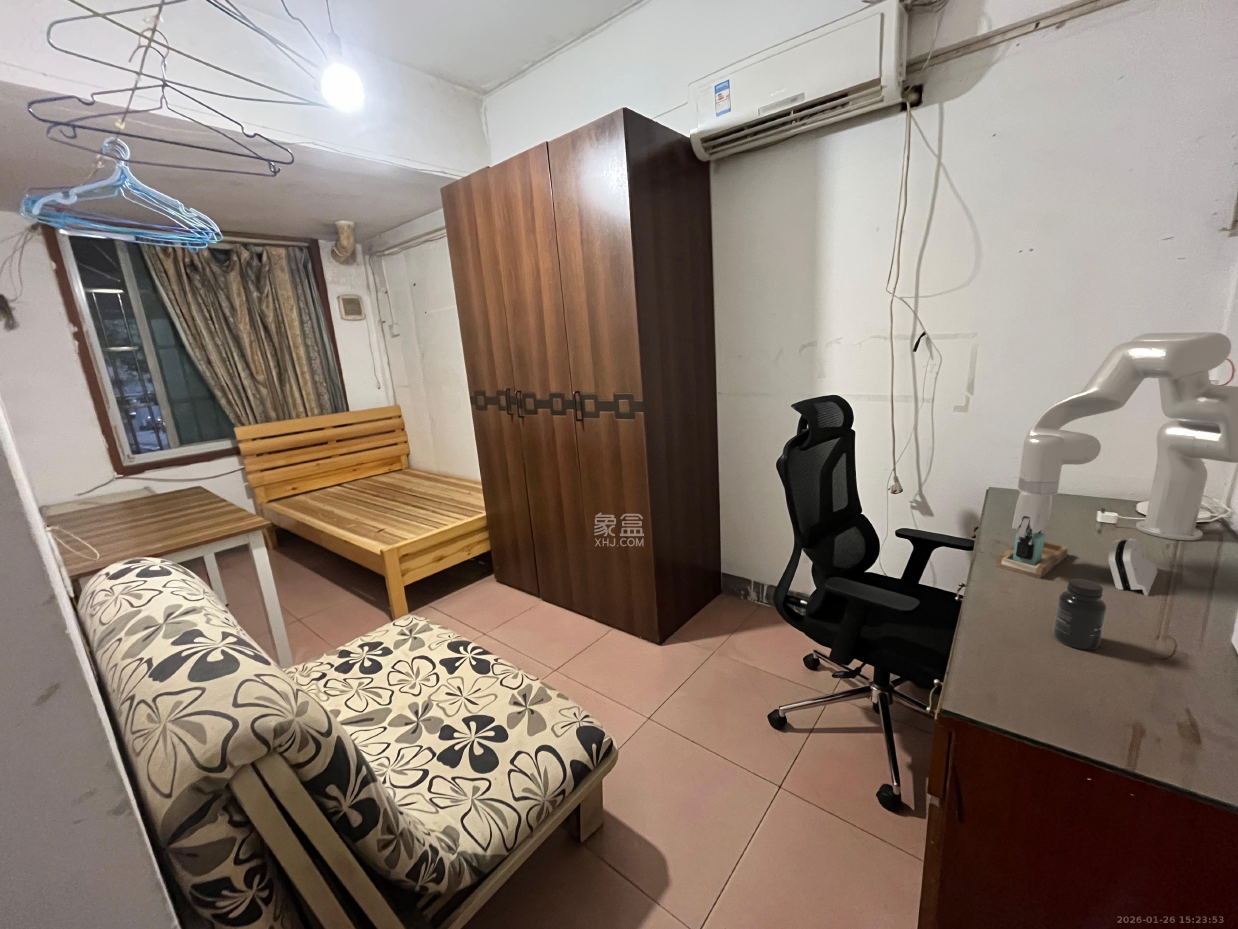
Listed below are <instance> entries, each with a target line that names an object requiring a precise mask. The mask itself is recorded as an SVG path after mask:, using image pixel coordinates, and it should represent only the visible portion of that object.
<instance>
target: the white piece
mask: <svg viewBox="0 0 1238 929" xmlns="http://www.w3.org/2000/svg"><path fill="white" fill-rule="evenodd" d="M1107 560H1108V564H1109V568H1110V571H1111V575H1112V579H1113V582H1114V585H1115V589H1116V588H1118V589H1117V590H1124V589H1126V588H1128V589H1130V590H1132V591H1135V590H1137V591H1138V590H1142V593H1143V595H1144V596H1145V595H1146V597H1147V596H1149V594H1150V591H1151V588H1152V587H1151V586H1153V584H1154V582H1155V579H1156V576H1157V574H1158V570H1157V569H1158V568H1157V566H1156V564H1155V563H1152V562H1151V561H1149V560H1148V557H1147V555H1146V552H1145V550H1144V547H1143V544H1142V542H1141V539H1134V538H1129V539H1125V538H1122V539H1117V540H1114V541H1113V542H1112V543H1111V545H1110V548H1109V553H1108V559H1107Z"/></svg>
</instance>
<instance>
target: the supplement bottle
mask: <svg viewBox="0 0 1238 929" xmlns="http://www.w3.org/2000/svg"><path fill="white" fill-rule="evenodd" d="M1103 591H1104V588H1103V586H1102V585H1101V584H1098V583H1097V582H1094V581H1091V580H1087V579H1080V578H1073V579H1070V580H1068V584H1067V586H1066V591H1063V592H1062V593H1061V594H1059V596H1058V600H1057V606H1056V610H1055V611H1056V612H1055V617H1054V622H1053V628H1052V629H1053V630H1052V634H1053V637H1054V638H1055V639H1056V640H1058V641H1059V643H1063V644H1064V645H1066V646H1069V647H1072V648H1074V649H1079V650H1083V651H1084V650H1087V651H1088V650H1091V651H1092V650H1096V649H1097V648H1099V646H1100V644H1101V640H1102V635H1103V632H1104V625H1105V622H1106V615H1107V609H1108V606H1107V603H1106V602H1105V601H1104V600H1103V599H1102V598H1103Z"/></svg>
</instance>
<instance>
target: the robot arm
mask: <svg viewBox="0 0 1238 929" xmlns="http://www.w3.org/2000/svg"><path fill="white" fill-rule="evenodd" d="M1231 349H1232V343H1231V340H1230V339H1229V337H1228V336H1227V335H1225V334H1223V333H1220V332H1213V331H1212V332H1205V331H1204V332H1153V333H1152V332H1150V333H1149V332H1147V333H1143V334H1139V335H1137V336H1135V337H1134V338H1132V339H1131V340H1130V341H1125V342H1123V343H1120V344H1118V345H1117V346H1115V347H1114V348H1113V349H1112V350H1111V351H1110V352H1109V353H1108V355H1107V356H1106V357H1105V358H1104V359H1103V362H1102V363H1101V364H1100V366H1099V367H1098V368H1097V370H1096V371H1095V373H1094V374H1093V375H1092V377H1091V378H1090V379H1089V380H1088V381H1087V383H1086V385H1085V386H1084V388H1083V389H1082V390H1081V391H1079V392H1077V393H1074V394H1072V395H1071V396H1069V397H1066V398H1064V399H1061V401H1058V402H1057V403H1056V404H1054V405H1052V406H1051V407H1049V408H1047V409H1046V410H1045V411H1044V412H1042V413H1041V415H1039V417H1038V418H1037V419H1036V420H1035V422H1034V423H1033V425H1032V426H1031V427H1030V429H1029V431H1028V432H1027V434H1026V436H1025V439H1024V441H1023V447H1022V455H1021V461H1020V469H1019V475H1018V476H1019V477H1018V484H1017V491H1018V492H1019V495H1018V498H1017V501H1016V503H1015V504H1016V505H1015V510H1014V515H1013V520H1012V524H1011V525H1012V526H1011V529H1012V530H1013V531H1017V530H1018V532H1017V533H1018V544H1017V551H1016V556H1017V557H1021V558H1024V559H1028V560H1031V559H1032V558H1033V551H1034V545H1033V541H1034V536H1035V534H1036V533H1042V534H1044V529H1045V528H1046V527H1047V526H1048V525H1049V523H1050V519H1051V513H1052V506H1053V496H1057V495H1058V493H1059V492H1058V491H1059V486H1060V479H1061V474H1062V473H1061V472H1062V466H1063V465H1086V464H1087V463H1090V462H1093V461H1094V460H1096V458H1098V456H1099V455H1100V452H1101V450H1102V447H1101V443H1100V440H1099V439H1098V438H1097V437H1095V436H1093V435H1091V434H1089V433H1083V432H1079V431H1078V432H1076V431H1072V430H1071V431H1070V430H1065V429H1061V428H1063V427H1064V426H1066V425H1068V424H1069V423H1070V422H1073V421H1076V420H1079V419H1081V418H1085V417H1090V416H1096V415H1100V414H1105V413H1110V412H1114V411H1117V410H1119V409H1121V408H1124V406H1125V405H1126V404H1127V402H1128V401H1129V399H1130V398H1131V397H1132V395H1133V394H1134V393H1135V391H1136V390H1137V389H1138V387H1139V386H1140V385H1141V383H1142V382H1144V380H1145V379H1149V378H1151V379H1157V380H1158V385H1159V396H1160V405H1161V410H1162V413H1163V414H1164V416H1165V417H1166V418H1169V419H1172V420H1170V421H1168V422H1166V423H1164V424H1162V426H1161V427H1160V428H1159V429H1158V431H1157V434H1156V448H1157V449H1156V450H1157V452H1156V454H1157V455H1156V456H1157V458H1156V465H1155V471H1154V476H1153V480H1152V485H1151V491H1150V495H1149V500H1148V504H1147V509H1146V515H1145V520H1140V521H1137V522H1136V524H1135V528H1136V529H1137V530H1139V531H1140V532H1142V533H1145V534H1147V535H1150V536H1154V537H1159V538H1163V539H1169V540H1177V541H1197V540H1200V539H1202V538H1203V535H1204V533H1203V532H1202V531H1201V530H1200V529H1197V528H1196V527H1197V526H1196V525H1197V522H1198V519H1199V518H1198V517H1199V513H1200V509H1201V507H1202V506H1201V504H1202V500H1203V496H1204V492H1205V488H1206V484H1207V481H1208V469H1207V467H1206V465H1205V464H1204V462H1203V460H1202V459H1204V460H1211V461H1216V462H1224V463H1232V464H1234V463H1235V464H1236V463H1238V386H1234V385H1219V384H1218V385H1217V384H1213V383H1212V382H1211V380H1210V375H1209V371H1211V370H1214V369H1216V368H1218V367H1220V366H1221V365H1222V364H1223V363H1224V362H1225V361H1226V360H1227V359H1228V357H1229V355H1230V353H1231ZM1027 530H1028V531H1027ZM1029 531H1031V532H1029ZM1027 534H1029V535H1030V538H1029V536H1027Z"/></svg>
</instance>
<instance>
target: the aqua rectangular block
mask: <svg viewBox="0 0 1238 929" xmlns="http://www.w3.org/2000/svg"><path fill="white" fill-rule="evenodd" d="M1027 531H1028V530H1027ZM1029 532H1031V531H1029ZM1018 533H1019V532H1017V533H1016V534H1015V540H1014V545H1015V547H1014V554H1013V560H1016V561H1019V562H1023V563H1027V564H1031V565H1036V564H1037V563H1038V562H1040V561H1041V558H1042V552H1043V545H1044V542H1045V538H1046V534H1045V533H1043V534H1042V533H1036V534H1035V536H1034V541H1033V545H1034V551H1033V558H1032V559H1031V560H1028V559H1024V558H1021V557H1017V556H1016V551H1017V544H1018ZM1027 536H1029V538H1030V535H1029V534H1027Z"/></svg>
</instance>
